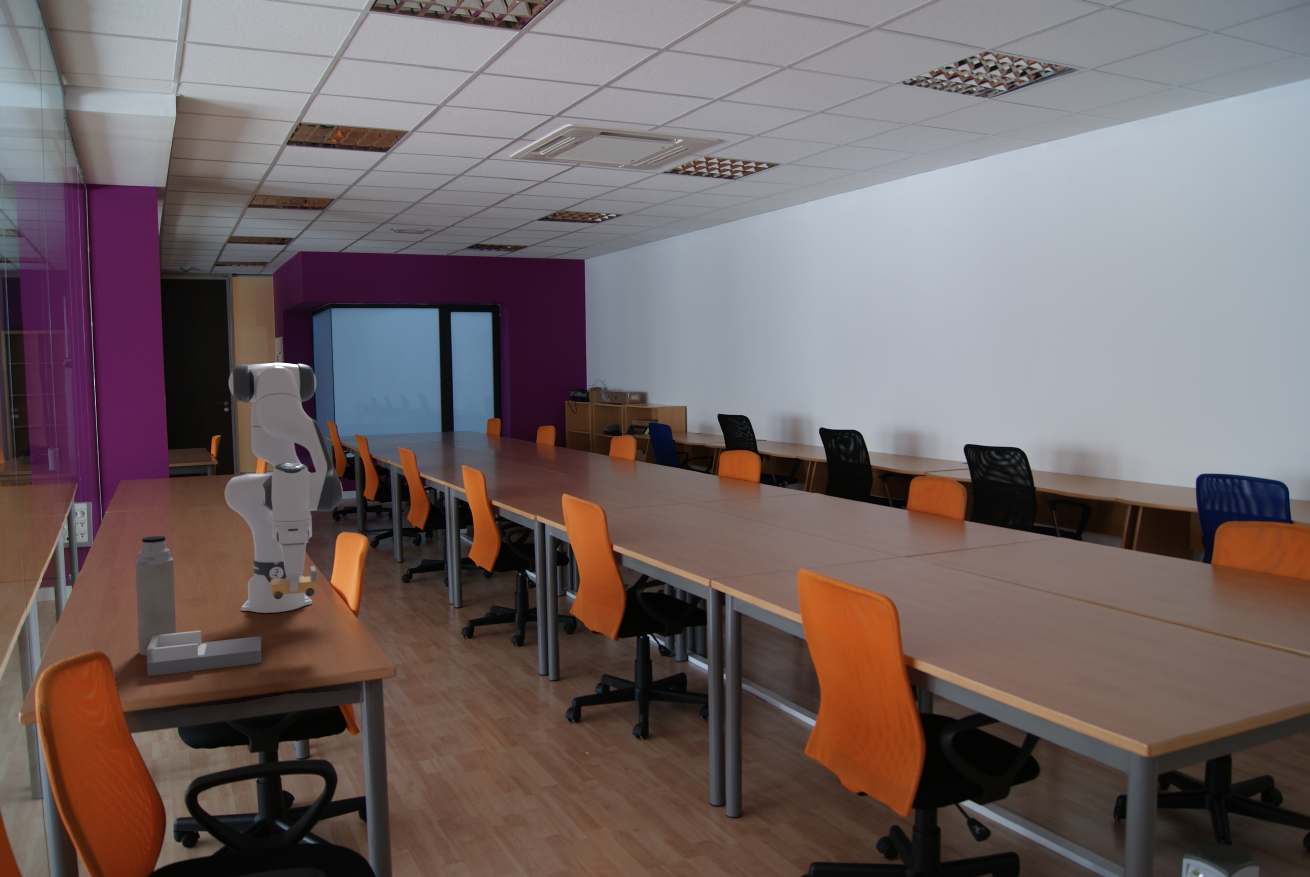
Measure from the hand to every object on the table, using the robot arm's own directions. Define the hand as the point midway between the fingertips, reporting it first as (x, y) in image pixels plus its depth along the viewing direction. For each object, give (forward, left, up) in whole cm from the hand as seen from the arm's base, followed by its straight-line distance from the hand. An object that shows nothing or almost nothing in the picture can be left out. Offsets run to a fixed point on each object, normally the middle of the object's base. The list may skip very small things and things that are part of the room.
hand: (293, 586), depth 210 cm
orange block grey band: (0, 0, -2) cm, 2 cm away
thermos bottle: (-14, -31, -16) cm, 37 cm away
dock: (0, -19, -16) cm, 25 cm away
